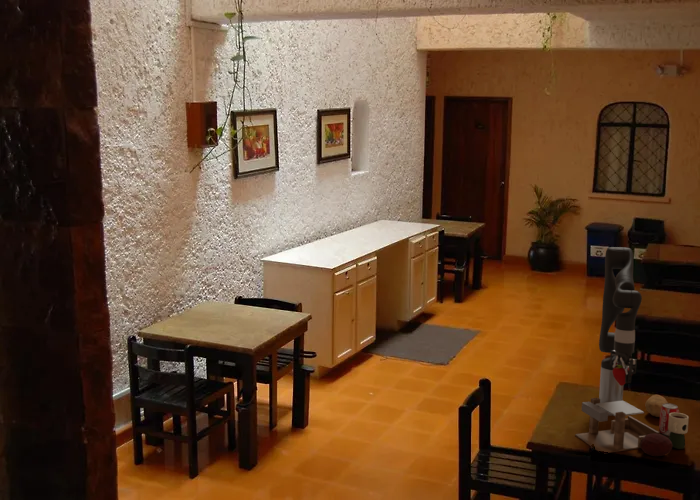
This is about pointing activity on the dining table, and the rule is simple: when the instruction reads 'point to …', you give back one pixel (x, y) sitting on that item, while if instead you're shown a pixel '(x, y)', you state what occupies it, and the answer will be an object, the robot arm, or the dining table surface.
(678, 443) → the character mug
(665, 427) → the soda can
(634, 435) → the stand
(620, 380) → the strawberry
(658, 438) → the potato
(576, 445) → the dining table surface
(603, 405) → the trapdoor
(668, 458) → the dining table surface
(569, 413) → the dining table surface
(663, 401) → the potato
